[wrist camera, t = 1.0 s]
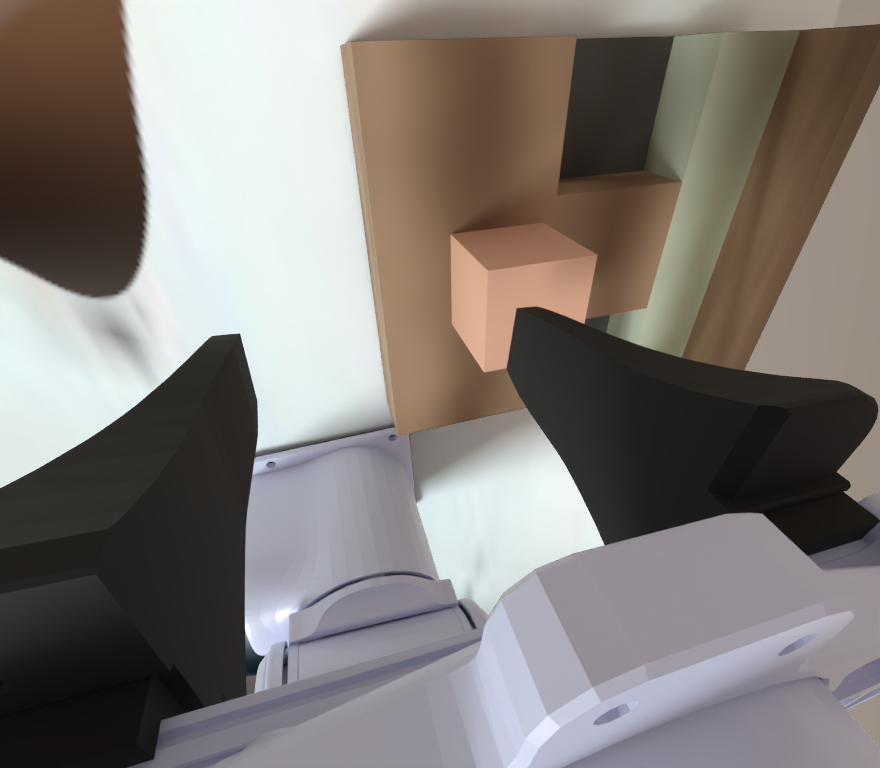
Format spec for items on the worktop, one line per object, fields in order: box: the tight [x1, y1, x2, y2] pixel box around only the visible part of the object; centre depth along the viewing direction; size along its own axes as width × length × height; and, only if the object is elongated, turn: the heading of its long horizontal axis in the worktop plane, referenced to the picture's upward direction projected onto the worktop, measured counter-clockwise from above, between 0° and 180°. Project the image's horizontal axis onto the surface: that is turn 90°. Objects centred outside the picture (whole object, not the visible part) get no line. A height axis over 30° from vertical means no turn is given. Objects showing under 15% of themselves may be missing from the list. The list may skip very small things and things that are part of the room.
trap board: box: [340, 24, 880, 436], centre depth 19 cm, size 18×16×6 cm
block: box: [450, 223, 597, 372], centre depth 17 cm, size 4×4×4 cm
